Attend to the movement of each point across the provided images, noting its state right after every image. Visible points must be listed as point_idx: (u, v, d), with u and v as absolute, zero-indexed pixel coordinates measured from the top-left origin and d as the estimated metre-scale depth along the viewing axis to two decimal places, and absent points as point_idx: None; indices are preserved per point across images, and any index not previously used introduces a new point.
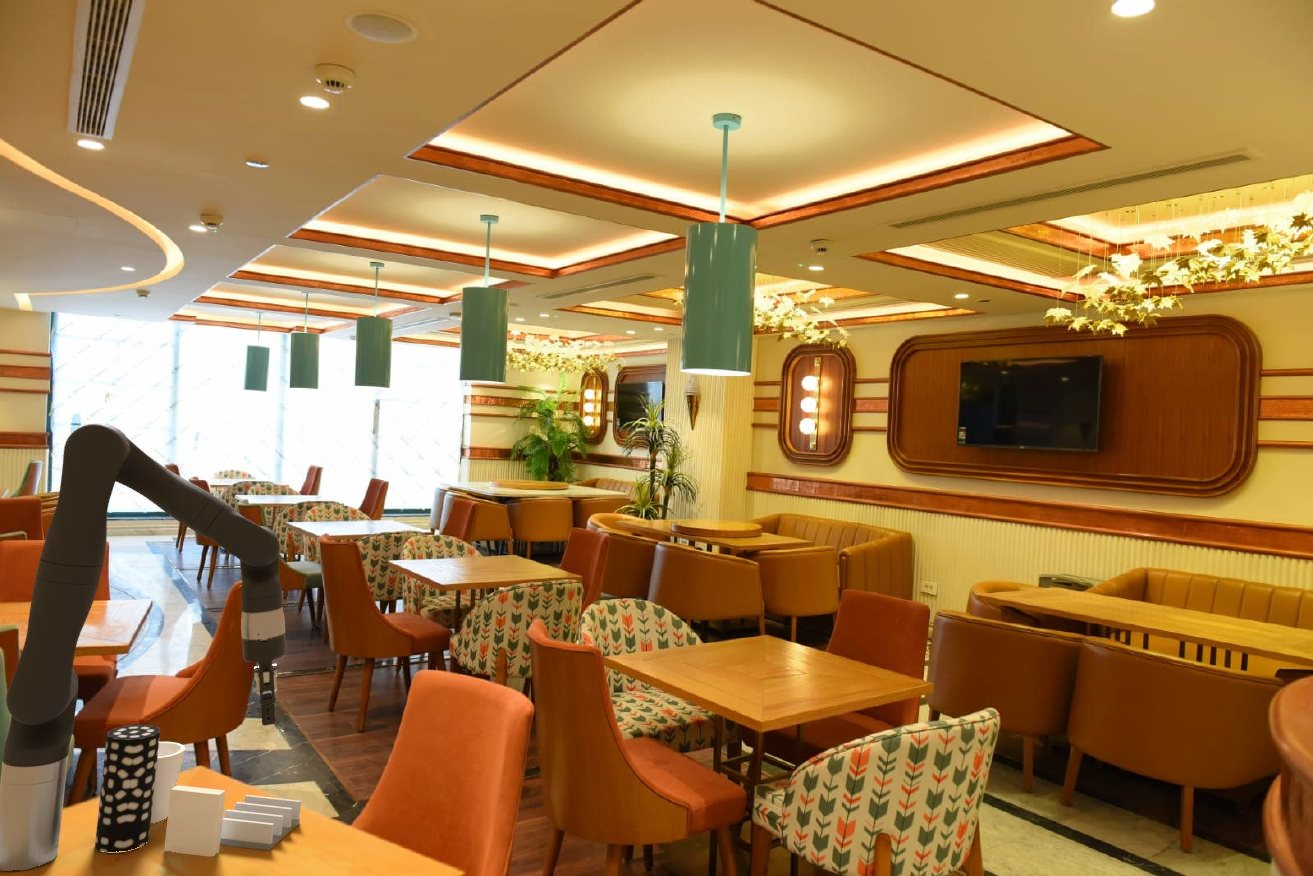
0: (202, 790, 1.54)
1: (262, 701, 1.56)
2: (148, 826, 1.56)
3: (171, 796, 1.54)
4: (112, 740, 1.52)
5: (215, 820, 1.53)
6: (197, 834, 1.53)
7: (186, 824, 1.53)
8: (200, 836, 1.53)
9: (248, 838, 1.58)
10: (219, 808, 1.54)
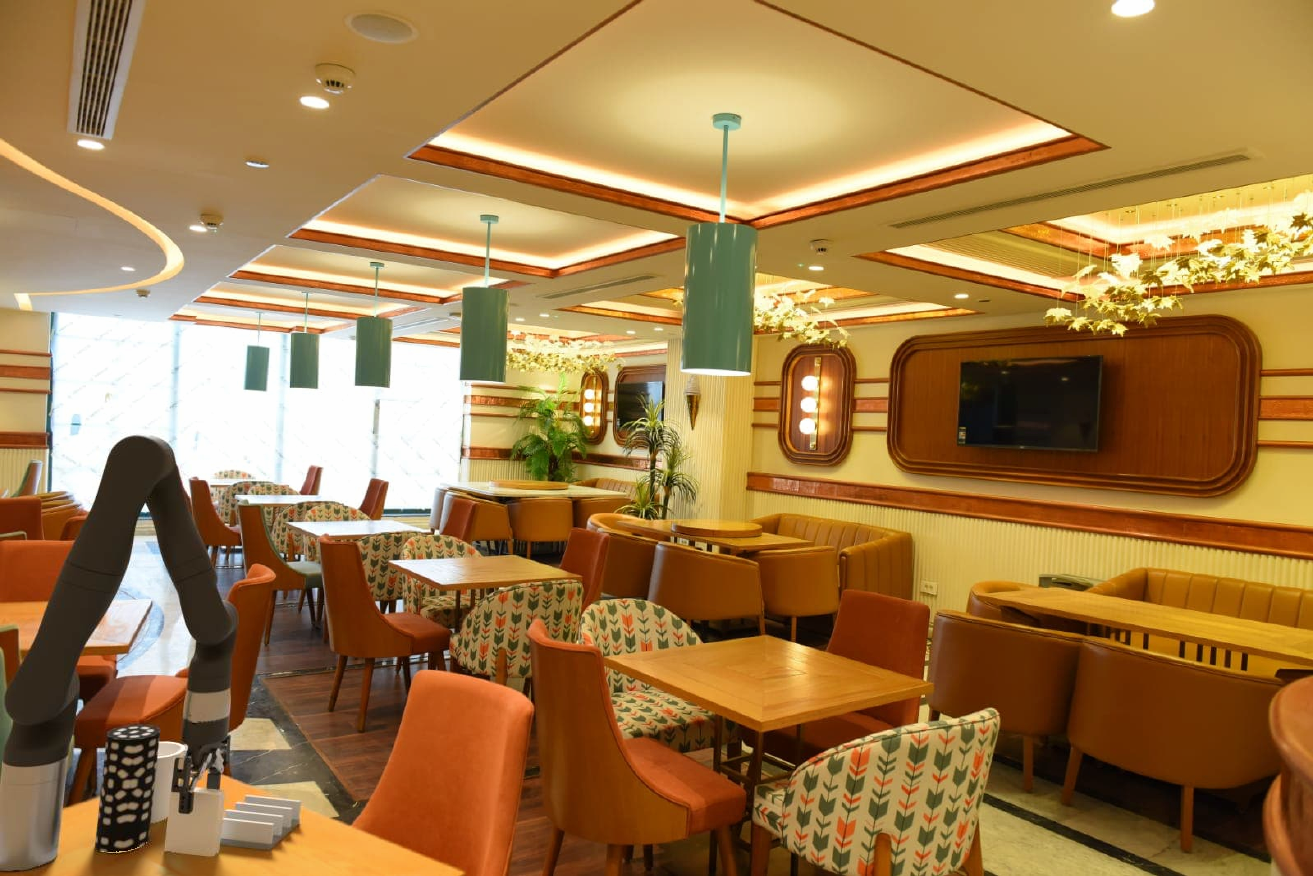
0: (202, 790, 1.54)
1: (173, 788, 1.48)
2: (148, 826, 1.56)
3: (171, 796, 1.54)
4: (112, 740, 1.52)
5: (215, 820, 1.53)
6: (197, 834, 1.53)
7: (187, 824, 1.53)
8: (200, 836, 1.53)
9: (248, 838, 1.58)
10: (219, 808, 1.54)
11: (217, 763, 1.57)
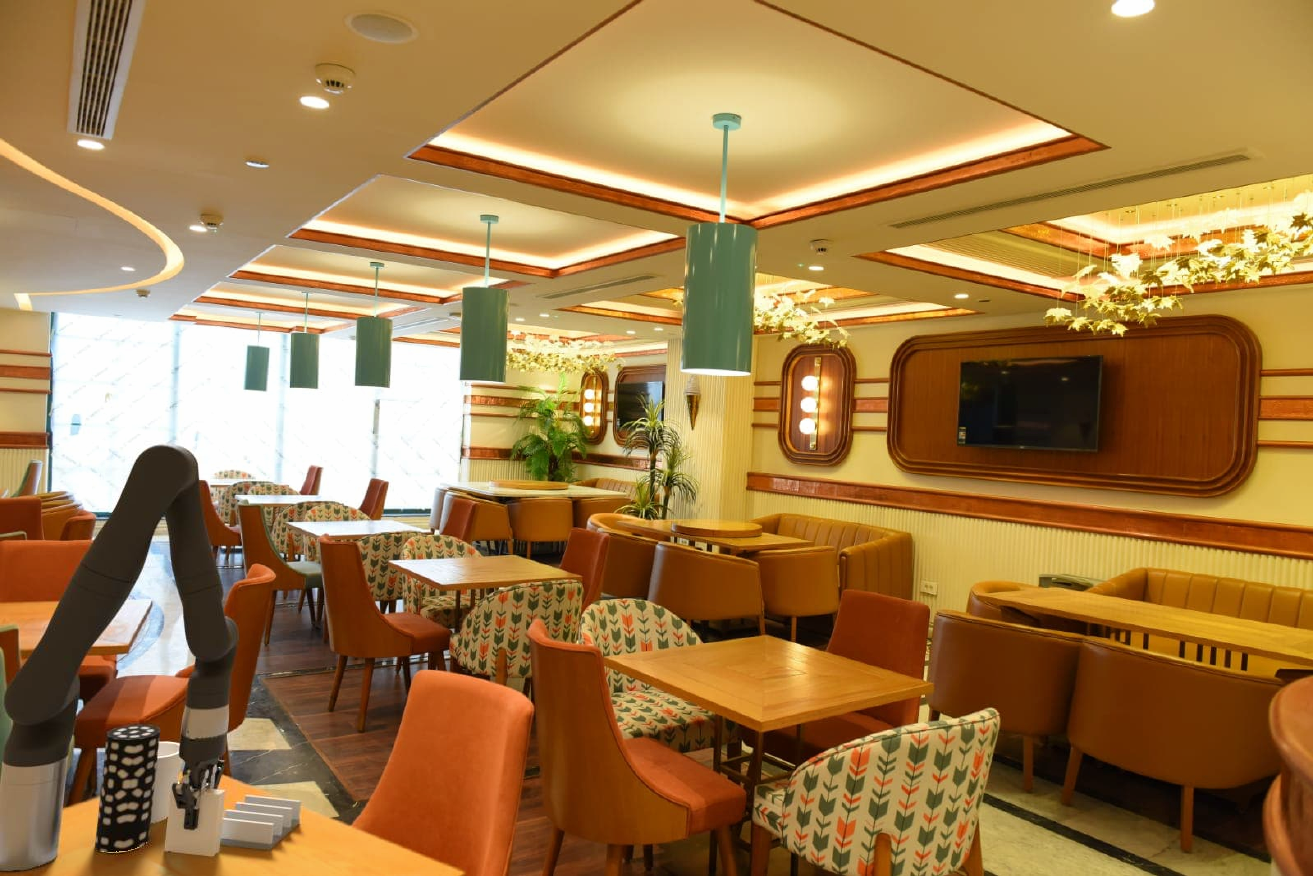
0: None
1: (179, 805, 1.51)
2: (148, 826, 1.56)
3: (171, 796, 1.54)
4: (112, 740, 1.52)
5: (215, 820, 1.53)
6: (197, 834, 1.53)
7: None
8: (200, 836, 1.53)
9: (248, 838, 1.58)
10: (219, 808, 1.54)
11: (209, 784, 1.55)
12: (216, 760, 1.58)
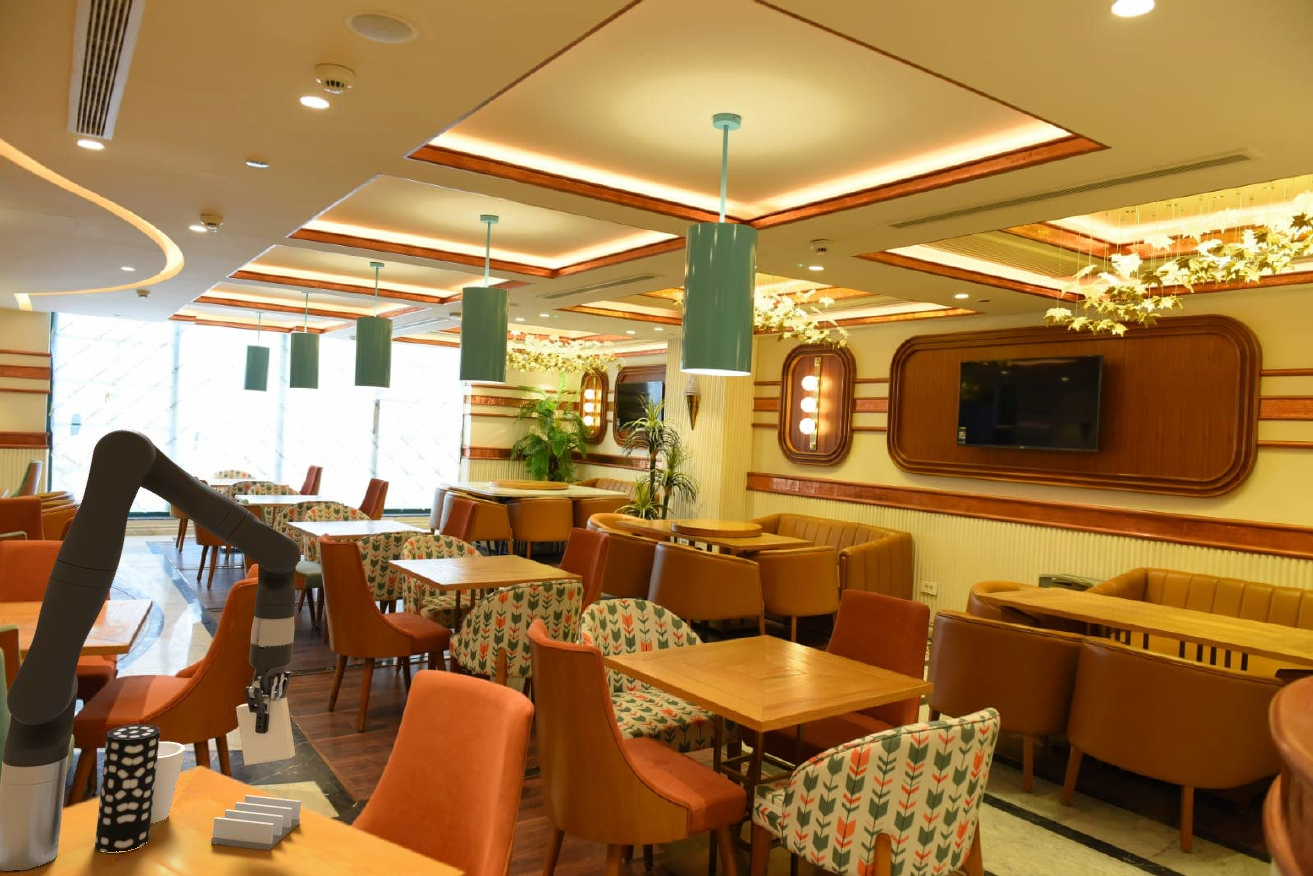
0: None
1: (251, 708, 1.59)
2: (148, 826, 1.56)
3: (238, 713, 1.63)
4: (112, 740, 1.52)
5: (283, 724, 1.62)
6: (270, 741, 1.62)
7: (258, 735, 1.62)
8: (274, 743, 1.62)
9: (248, 838, 1.58)
10: (284, 713, 1.63)
11: (277, 691, 1.64)
12: (283, 670, 1.67)
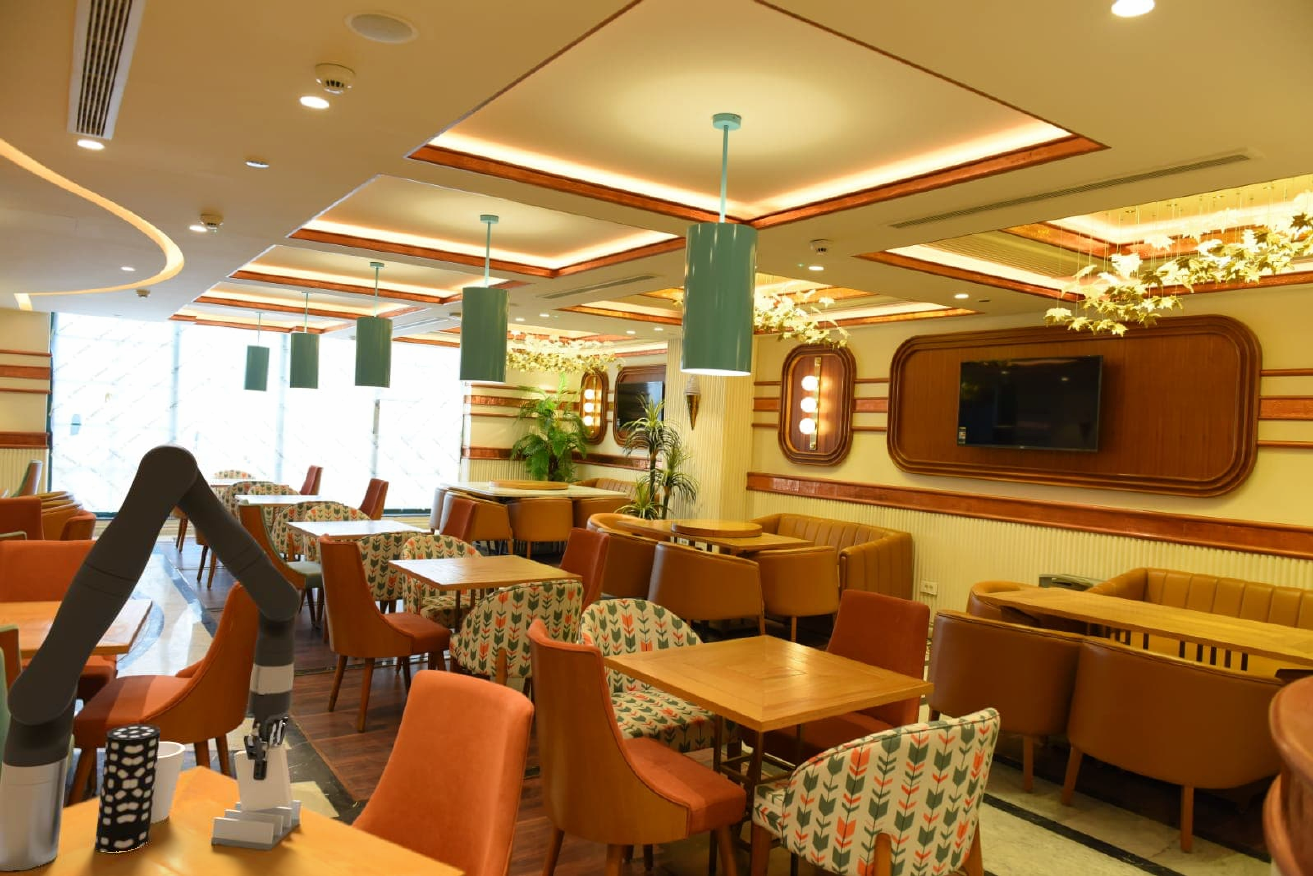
0: (262, 749, 1.64)
1: (250, 756, 1.60)
2: (148, 826, 1.56)
3: (236, 761, 1.63)
4: (112, 740, 1.52)
5: (281, 771, 1.63)
6: (268, 789, 1.63)
7: (256, 782, 1.63)
8: (272, 790, 1.63)
9: (248, 838, 1.58)
10: (282, 760, 1.63)
11: (275, 738, 1.65)
12: (281, 716, 1.67)
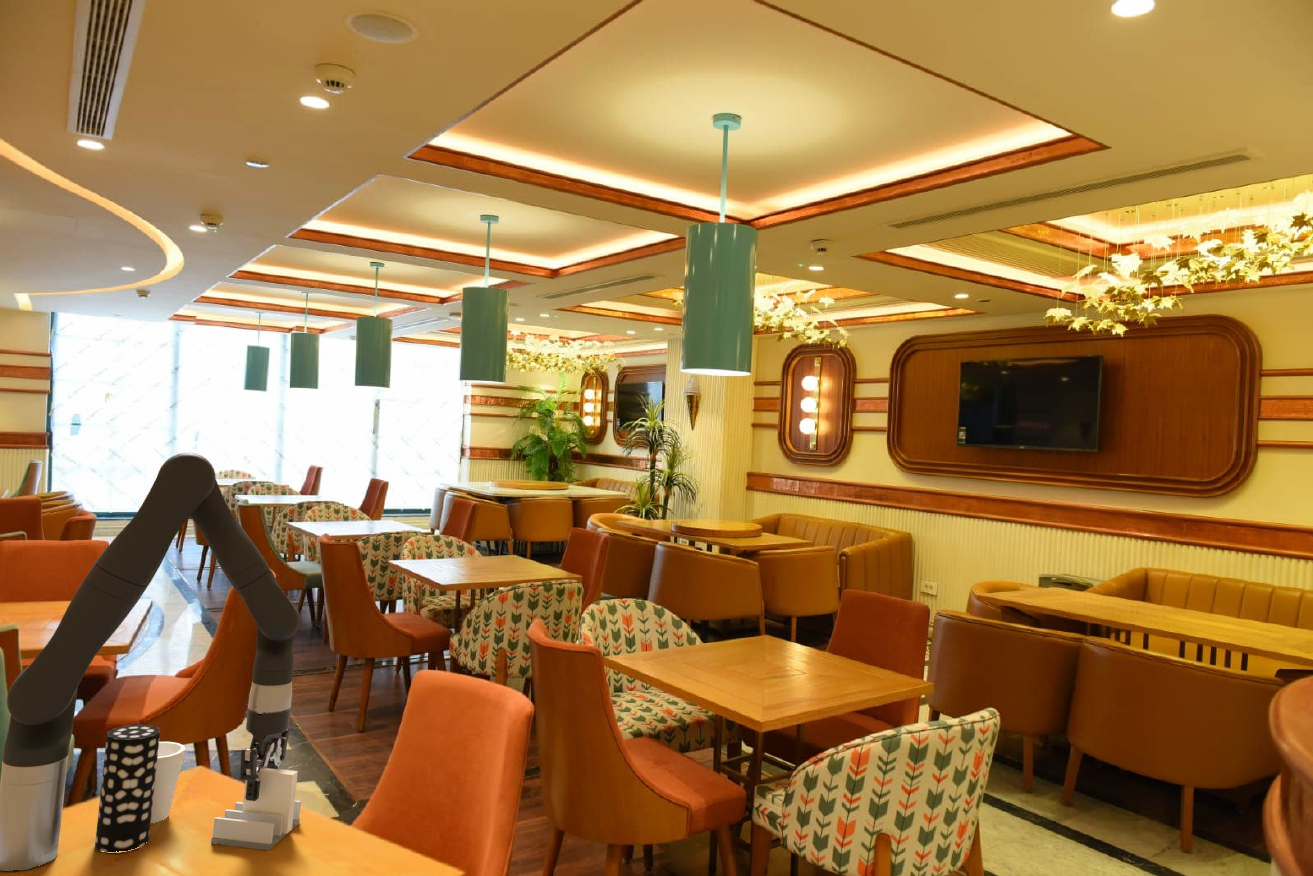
0: (275, 771, 1.64)
1: (242, 776, 1.58)
2: (148, 826, 1.56)
3: None
4: (112, 740, 1.52)
5: (289, 799, 1.62)
6: (271, 812, 1.62)
7: (262, 803, 1.63)
8: (275, 814, 1.62)
9: (248, 838, 1.58)
10: (292, 787, 1.63)
11: (276, 754, 1.66)
12: (279, 734, 1.67)
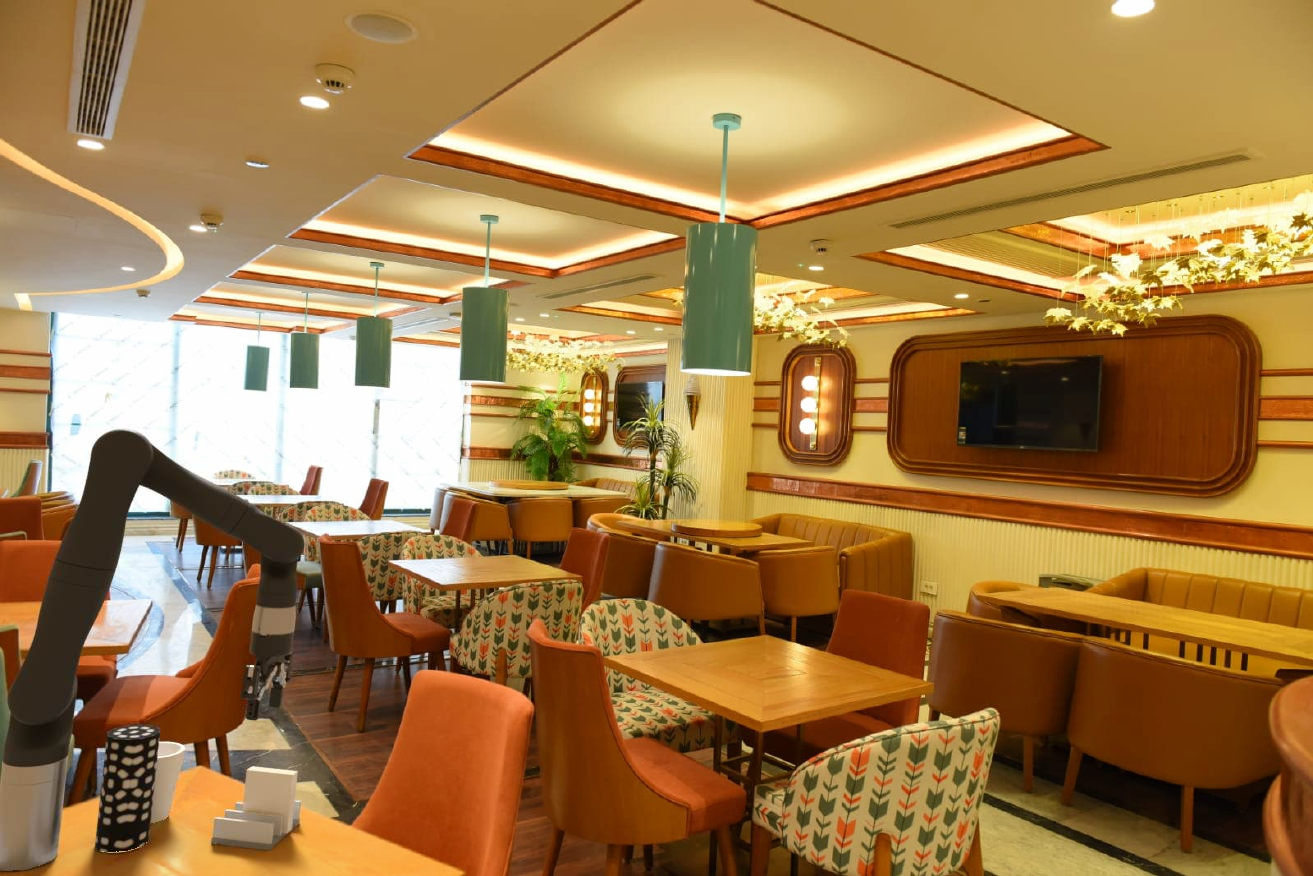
0: (275, 771, 1.64)
1: (243, 694, 1.58)
2: (148, 826, 1.56)
3: (247, 776, 1.63)
4: (112, 740, 1.52)
5: (289, 799, 1.62)
6: (271, 812, 1.62)
7: (262, 803, 1.63)
8: (275, 814, 1.62)
9: (248, 838, 1.58)
10: (292, 787, 1.63)
11: (281, 677, 1.67)
12: (283, 659, 1.68)
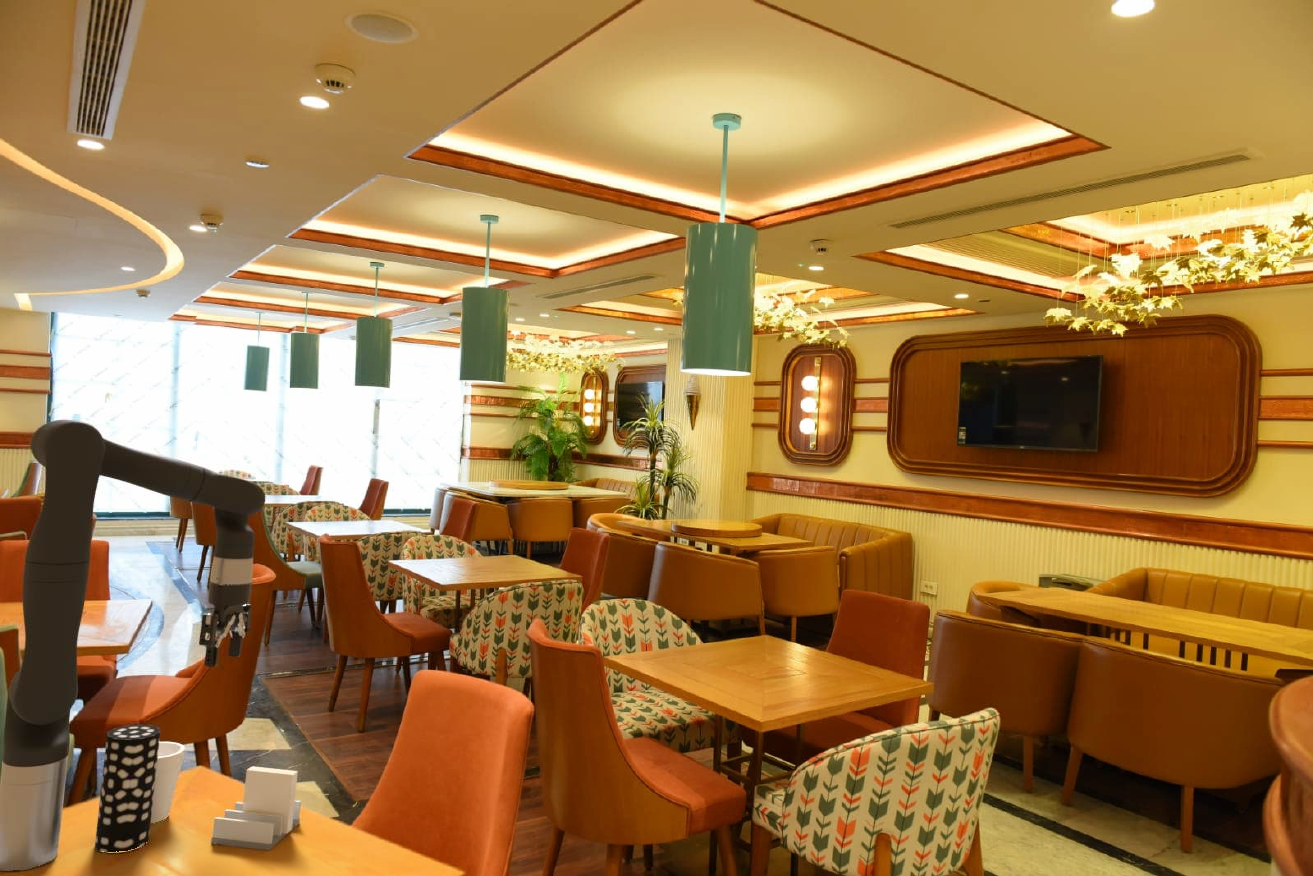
0: (275, 771, 1.64)
1: (201, 641, 1.64)
2: (148, 826, 1.56)
3: (247, 776, 1.63)
4: (112, 740, 1.52)
5: (289, 799, 1.62)
6: (271, 812, 1.62)
7: (262, 803, 1.63)
8: (275, 814, 1.62)
9: (248, 838, 1.58)
10: (292, 787, 1.63)
11: (239, 627, 1.73)
12: (241, 610, 1.74)
